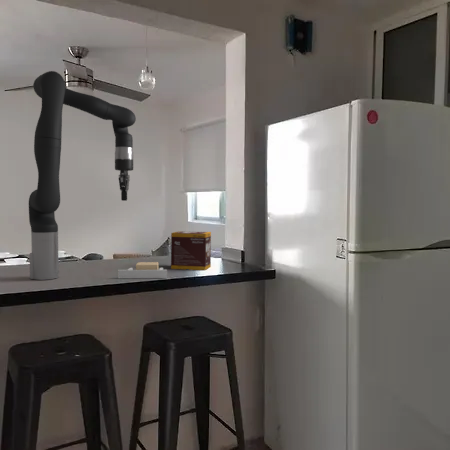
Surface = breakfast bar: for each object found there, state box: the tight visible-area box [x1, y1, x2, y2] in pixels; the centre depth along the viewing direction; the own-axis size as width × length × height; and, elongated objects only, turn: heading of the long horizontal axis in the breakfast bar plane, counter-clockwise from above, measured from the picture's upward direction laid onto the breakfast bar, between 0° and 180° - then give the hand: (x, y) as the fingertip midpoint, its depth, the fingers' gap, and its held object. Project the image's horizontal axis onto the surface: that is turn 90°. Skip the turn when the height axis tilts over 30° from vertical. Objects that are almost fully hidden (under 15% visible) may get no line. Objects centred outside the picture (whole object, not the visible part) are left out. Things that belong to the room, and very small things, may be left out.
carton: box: [135, 261, 159, 270], centre depth 173 cm, size 8×8×5 cm
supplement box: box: [170, 230, 212, 271], centre depth 194 cm, size 10×15×16 cm
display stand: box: [117, 267, 168, 279], centre depth 174 cm, size 18×13×3 cm
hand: (124, 200), depth 186 cm, fingers closed
